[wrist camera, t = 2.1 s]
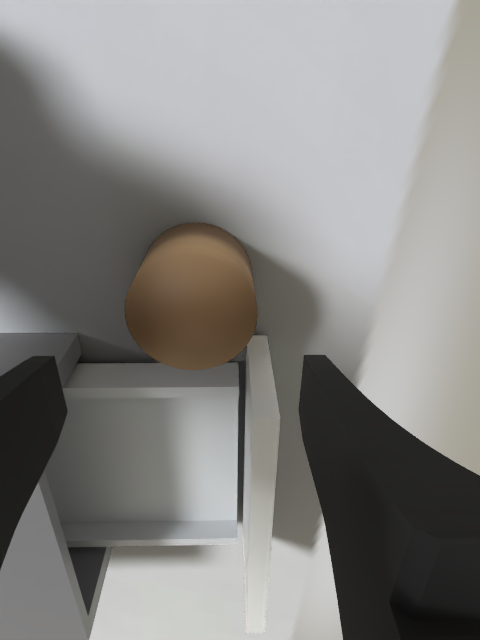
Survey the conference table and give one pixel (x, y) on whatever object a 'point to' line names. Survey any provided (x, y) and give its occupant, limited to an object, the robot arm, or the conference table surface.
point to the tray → (170, 460)
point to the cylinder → (193, 298)
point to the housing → (47, 536)
